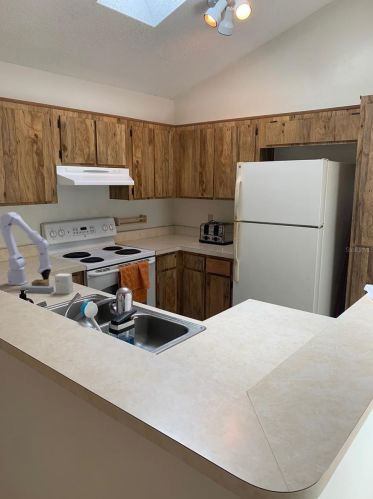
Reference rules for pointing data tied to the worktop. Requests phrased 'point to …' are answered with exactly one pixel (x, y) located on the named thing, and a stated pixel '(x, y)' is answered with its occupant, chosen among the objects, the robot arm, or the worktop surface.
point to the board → (38, 289)
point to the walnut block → (40, 283)
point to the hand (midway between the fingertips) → (46, 281)
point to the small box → (63, 283)
